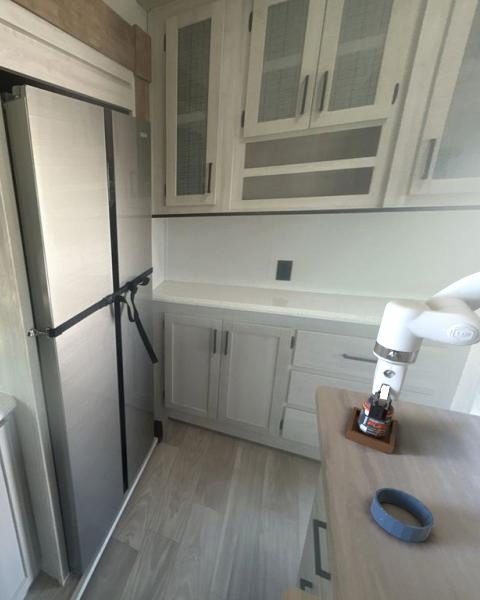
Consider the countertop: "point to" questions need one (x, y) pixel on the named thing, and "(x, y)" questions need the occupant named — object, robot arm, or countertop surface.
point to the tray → (378, 444)
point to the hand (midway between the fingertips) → (378, 408)
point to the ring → (395, 525)
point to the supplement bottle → (373, 420)
